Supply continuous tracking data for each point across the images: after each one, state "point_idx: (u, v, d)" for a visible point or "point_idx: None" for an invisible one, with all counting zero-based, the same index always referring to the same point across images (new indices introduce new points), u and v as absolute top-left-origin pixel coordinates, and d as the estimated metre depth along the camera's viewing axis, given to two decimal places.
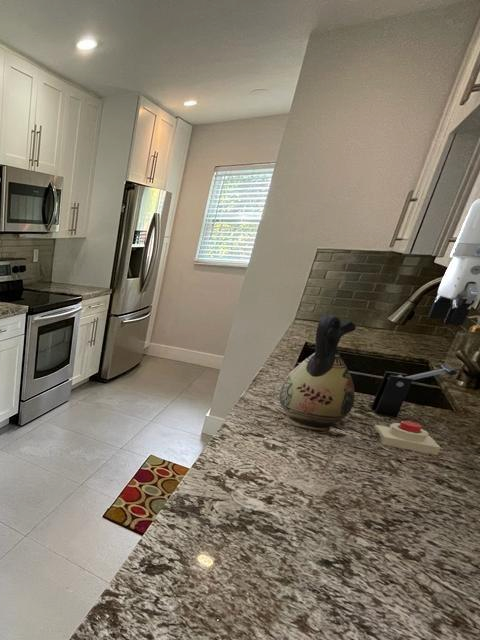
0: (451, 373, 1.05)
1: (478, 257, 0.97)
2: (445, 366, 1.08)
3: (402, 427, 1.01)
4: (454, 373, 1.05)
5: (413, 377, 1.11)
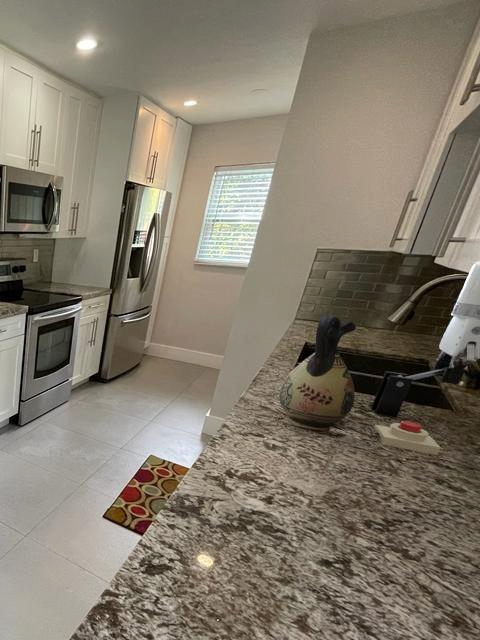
0: None
1: (479, 318, 1.00)
2: (445, 366, 1.08)
3: (402, 427, 1.01)
4: None
5: (413, 377, 1.11)
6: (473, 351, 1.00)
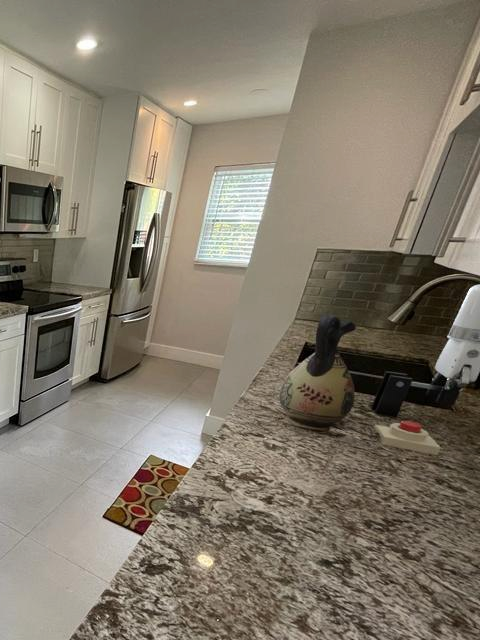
0: None
1: (474, 342, 1.01)
2: None
3: (402, 427, 1.01)
4: None
5: (413, 383, 1.11)
6: (468, 374, 1.02)
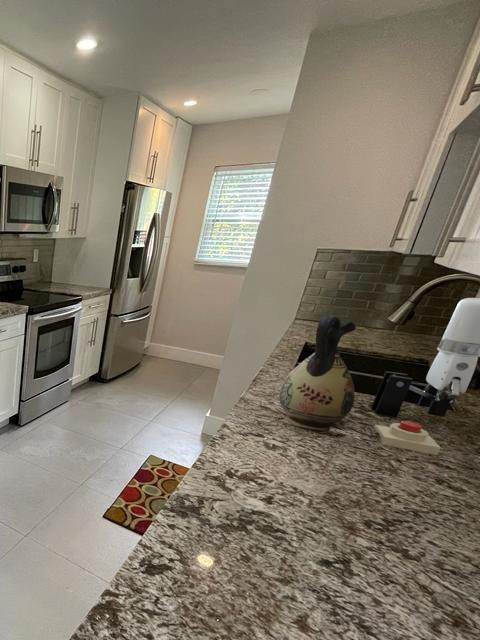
0: None
1: (463, 354, 1.03)
2: None
3: (402, 427, 1.01)
4: None
5: (411, 387, 1.12)
6: (458, 386, 1.03)
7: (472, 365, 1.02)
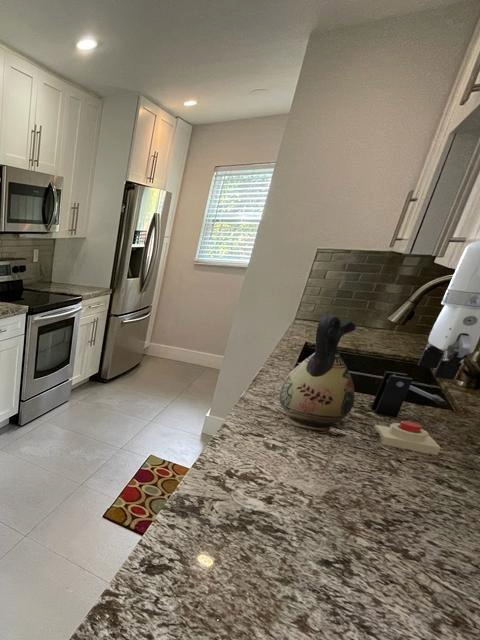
0: (440, 403, 1.08)
1: (472, 307, 0.88)
2: (438, 396, 1.11)
3: (402, 427, 1.01)
4: (442, 404, 1.08)
5: (411, 387, 1.12)
6: (468, 340, 0.88)
7: None
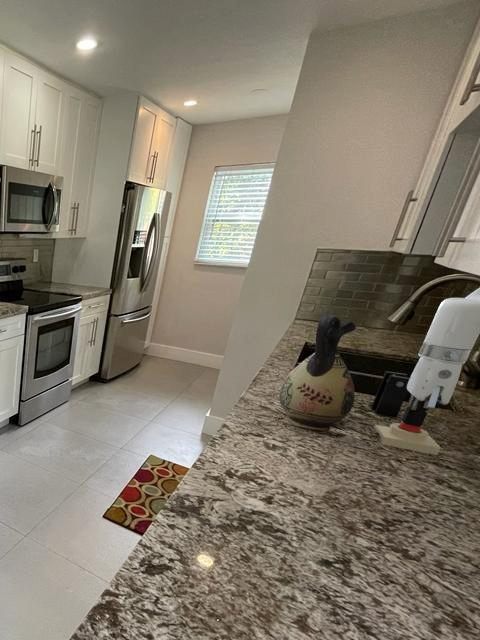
0: (440, 403, 1.08)
1: (446, 361, 0.92)
2: None
3: (402, 427, 1.01)
4: (442, 404, 1.08)
5: None
6: (436, 399, 0.94)
7: (456, 373, 0.91)
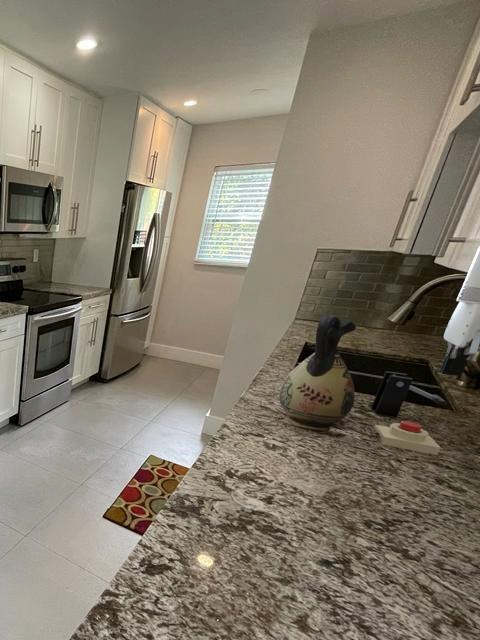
0: (440, 403, 1.08)
1: None
2: (438, 396, 1.11)
3: (402, 427, 1.01)
4: (442, 404, 1.08)
5: (411, 387, 1.12)
6: (478, 344, 0.90)
7: None
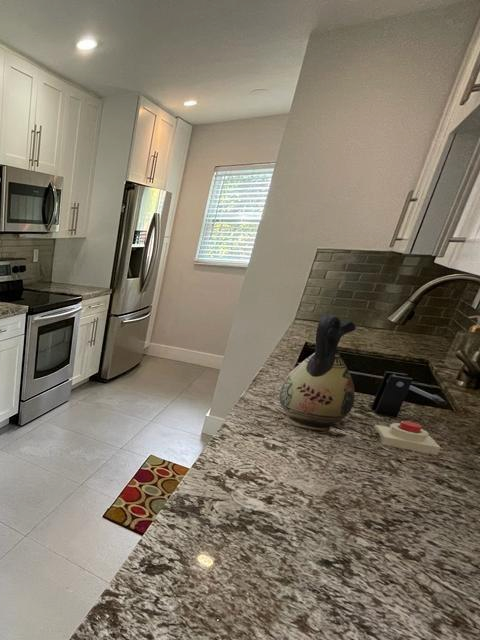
0: (440, 403, 1.08)
1: None
2: (438, 396, 1.11)
3: (402, 427, 1.01)
4: (442, 404, 1.08)
5: (411, 387, 1.12)
6: None
7: None
